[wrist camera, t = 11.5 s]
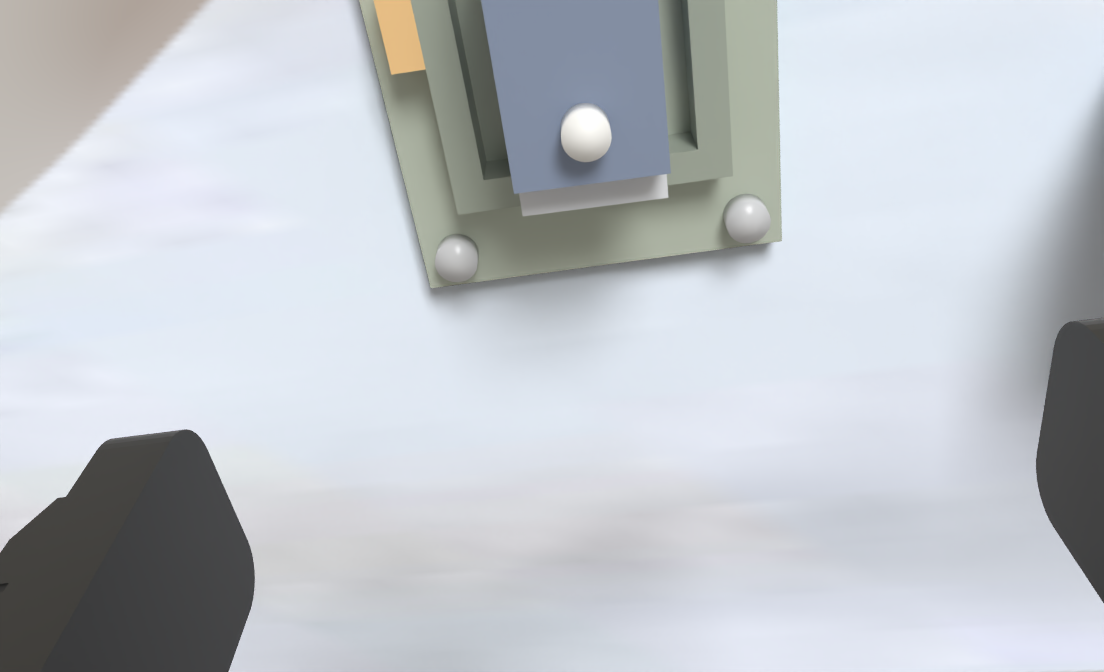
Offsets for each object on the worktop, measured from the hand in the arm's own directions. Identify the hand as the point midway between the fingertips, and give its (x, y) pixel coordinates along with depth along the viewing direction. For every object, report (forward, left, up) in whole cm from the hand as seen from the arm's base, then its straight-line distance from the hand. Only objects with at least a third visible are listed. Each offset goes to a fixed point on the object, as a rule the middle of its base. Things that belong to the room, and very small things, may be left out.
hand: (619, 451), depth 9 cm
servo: (0, 0, -21) cm, 21 cm away
